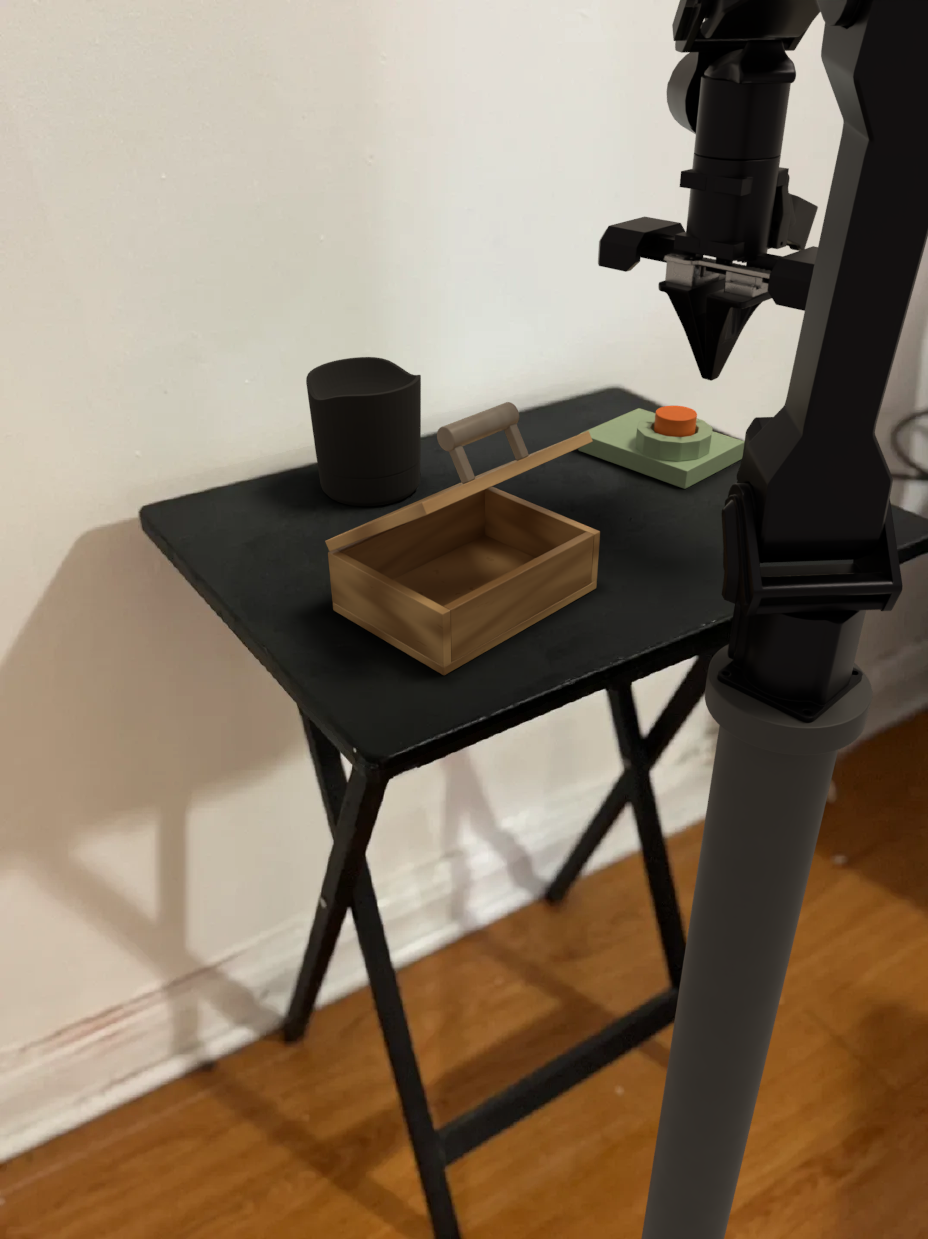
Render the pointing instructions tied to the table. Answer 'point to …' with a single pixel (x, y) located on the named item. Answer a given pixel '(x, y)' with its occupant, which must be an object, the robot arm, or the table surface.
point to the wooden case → (464, 576)
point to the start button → (675, 421)
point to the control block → (663, 449)
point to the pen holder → (366, 430)
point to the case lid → (468, 467)
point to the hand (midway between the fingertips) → (710, 378)
